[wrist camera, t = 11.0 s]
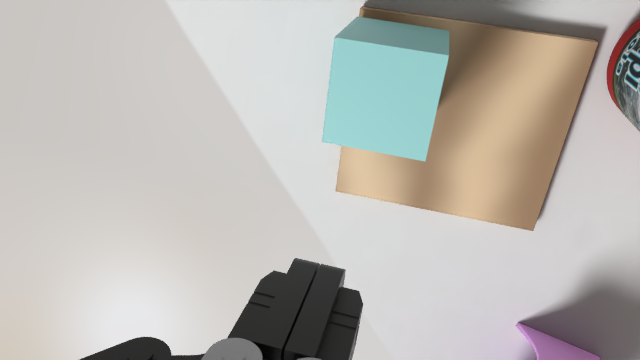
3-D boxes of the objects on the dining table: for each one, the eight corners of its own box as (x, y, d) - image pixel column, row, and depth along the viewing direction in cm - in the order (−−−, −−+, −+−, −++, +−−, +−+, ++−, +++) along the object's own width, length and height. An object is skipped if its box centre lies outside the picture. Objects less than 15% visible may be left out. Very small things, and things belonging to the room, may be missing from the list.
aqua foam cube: (449, 30, 29) (448, 55, 23) (430, 118, 31) (425, 161, 25) (357, 16, 29) (334, 37, 24) (345, 103, 32) (321, 141, 26)
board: (594, 39, 28) (598, 42, 28) (531, 224, 34) (533, 231, 33) (362, 6, 30) (360, 8, 30) (338, 186, 36) (335, 191, 35)
